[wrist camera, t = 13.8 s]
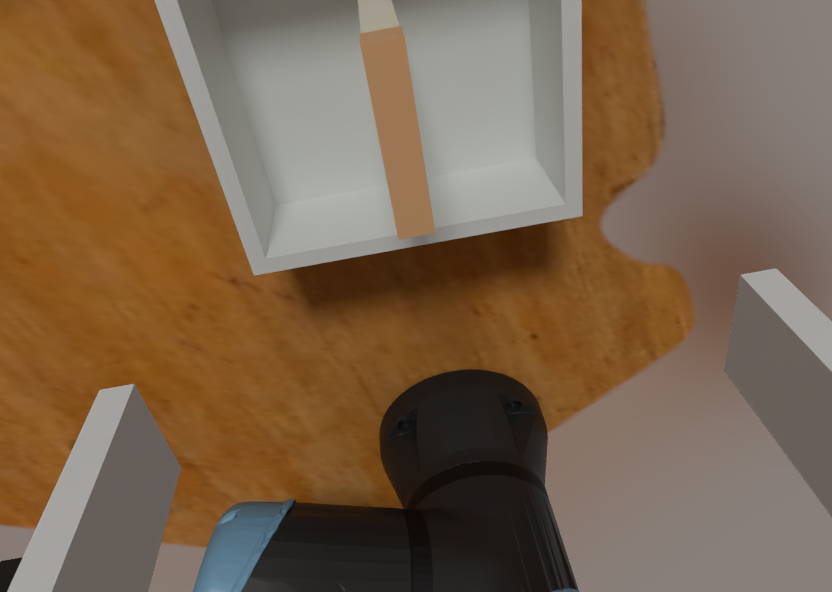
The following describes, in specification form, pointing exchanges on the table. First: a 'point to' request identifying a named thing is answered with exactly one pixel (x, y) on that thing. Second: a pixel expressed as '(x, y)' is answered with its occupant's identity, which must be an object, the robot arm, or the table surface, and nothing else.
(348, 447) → the table surface
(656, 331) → the table surface
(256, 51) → the bin
